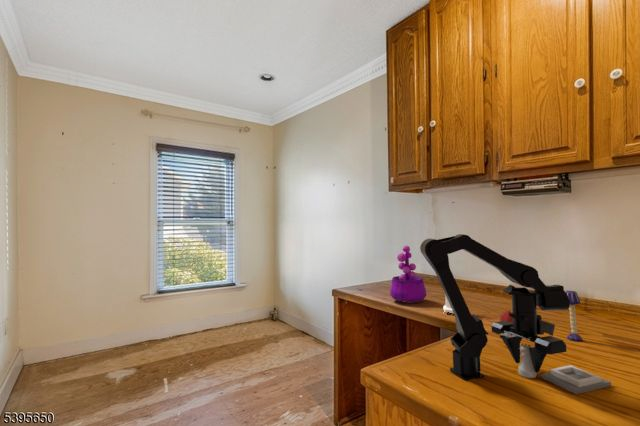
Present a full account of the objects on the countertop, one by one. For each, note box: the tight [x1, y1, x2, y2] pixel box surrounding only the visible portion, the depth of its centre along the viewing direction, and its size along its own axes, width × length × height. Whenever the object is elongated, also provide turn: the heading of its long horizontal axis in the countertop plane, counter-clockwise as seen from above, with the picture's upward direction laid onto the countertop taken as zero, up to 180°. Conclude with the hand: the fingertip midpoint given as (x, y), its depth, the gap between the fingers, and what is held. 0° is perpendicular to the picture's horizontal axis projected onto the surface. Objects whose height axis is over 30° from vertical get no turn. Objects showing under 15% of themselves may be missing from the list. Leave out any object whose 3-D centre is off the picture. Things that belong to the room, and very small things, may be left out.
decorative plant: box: [389, 244, 427, 303], centre depth 175 cm, size 19×18×30 cm
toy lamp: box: [565, 290, 583, 342], centre depth 115 cm, size 5×5×17 cm
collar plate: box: [541, 364, 612, 395], centre depth 85 cm, size 12×9×2 cm
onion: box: [499, 309, 513, 323], centre depth 126 cm, size 6×6×8 cm
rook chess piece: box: [517, 343, 538, 379], centre depth 90 cm, size 4×4×8 cm
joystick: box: [442, 294, 454, 314], centre depth 153 cm, size 11×8×20 cm
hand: (527, 367), depth 90 cm, fingers open, 6 cm apart
